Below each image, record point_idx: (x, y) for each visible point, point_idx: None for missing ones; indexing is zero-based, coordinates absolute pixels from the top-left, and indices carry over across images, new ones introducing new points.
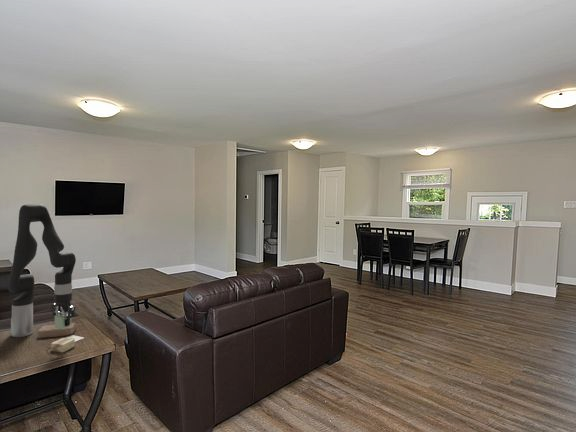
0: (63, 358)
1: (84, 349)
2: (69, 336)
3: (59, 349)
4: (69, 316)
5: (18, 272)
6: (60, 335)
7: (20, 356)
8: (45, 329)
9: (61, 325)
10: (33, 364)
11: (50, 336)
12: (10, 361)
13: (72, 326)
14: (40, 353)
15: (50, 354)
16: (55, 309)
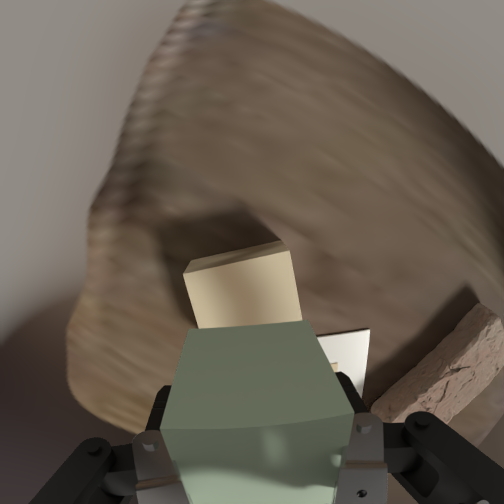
0: (109, 209)
1: (126, 336)
2: (358, 392)
3: (216, 257)
4: (69, 460)
5: None
6: (409, 373)
7: (359, 112)
8: (483, 345)
9: (186, 352)
10: (185, 82)
11: (441, 341)
12: (339, 55)
13: None
14: (299, 184)
15: (228, 204)
16: (445, 492)
